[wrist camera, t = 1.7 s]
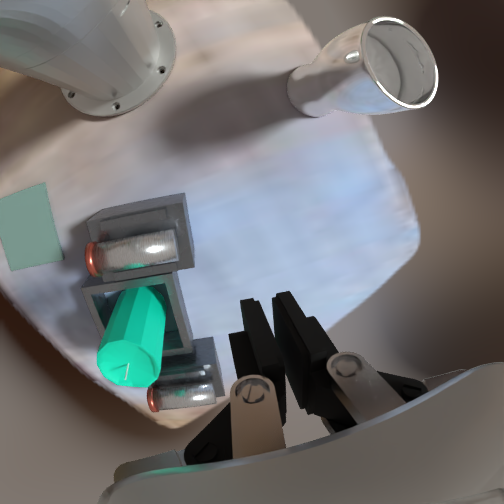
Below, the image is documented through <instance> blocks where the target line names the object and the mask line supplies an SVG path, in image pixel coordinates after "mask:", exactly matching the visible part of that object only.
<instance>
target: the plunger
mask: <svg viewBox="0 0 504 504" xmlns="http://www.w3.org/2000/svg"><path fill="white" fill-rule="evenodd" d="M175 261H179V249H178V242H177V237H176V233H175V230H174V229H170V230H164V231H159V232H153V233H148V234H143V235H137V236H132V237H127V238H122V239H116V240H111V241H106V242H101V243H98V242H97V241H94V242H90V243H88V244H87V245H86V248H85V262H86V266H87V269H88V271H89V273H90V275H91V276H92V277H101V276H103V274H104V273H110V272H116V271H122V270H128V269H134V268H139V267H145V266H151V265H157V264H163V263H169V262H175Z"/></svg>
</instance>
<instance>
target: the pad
mask: <svg viewBox="0 0 504 504" xmlns="http://www.w3.org/2000/svg"><path fill="white" fill-rule="evenodd" d="M0 237H1V241H2V244H3V247H4V250H5V254H6V257H7V260H8V263H9V266H10V268H11V271H14V270H18V269H23V268H28V267H32V266H37V265H42V264H46V263H51V262H56V261H61V260H64V256H63V253H62V250H61V246H60V243H59V239H58V236H57V232H56V228H55V225H54V221H53V217H52V212H51V208H50V204H49V199H48V194H47V189H46V184H45V183H42V184H39V185H36V186H33V187H30V188H28V189H25V190H22V191H20V192H17V193H14V194H12V195H9V196H7V197H4V198H2V199H0Z"/></svg>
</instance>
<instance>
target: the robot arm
mask: <svg viewBox="0 0 504 504" xmlns="http://www.w3.org/2000/svg"><path fill="white" fill-rule="evenodd" d="M158 26H161V27H158ZM175 58H176V42H175V37H174V34H173V31H172V28H171V27H170V25H169V24H168V22H167V21H166V20H165V19H164V18H163V17H162V16H161V15H159V14H157V13H155V12H154V11H152V10H149V8H148V5H147V2H146V0H0V67H2V68H4V69H7V70H11V71H14V72H17V73H20V74H23V75H27V76H30V77H33V78H36V79H38V80H41V81H44V82H47V83H50V84H53V85H55V86H58V87H60V88H61V91H62V94H63V95H64V97H65V99H66V100H67V102H68V103H69V104H70V105H71V106H73V107H74V108H75V109H77V110H79V111H80V112H82V113H85V114H88V115H92V116H98V117H108V116H115V115H120V114H123V113H126V112H128V111H131V110H133V109H135V108H137V107H139V106H140V105H142V104H144V103H145V102H146V101H148V100H149V99H150V98H151V97H153V96H154V95H155V94H156V93H157V91H158V90H159V89H160V88H161V87H162V86H163V84H164V83H165V81H166V80H167V78H168V77H169V75H170V73H171V70H172V68H173V66H174V61H175ZM161 70H165V72H164V73H163V74H161V73H160V71H161ZM74 94H75V96H74V97H73V95H74ZM118 105H120V108H119V109H118V110H117V109H116V107H117V106H118ZM240 305H241V312H242V318H243V325H244V331H241V332H236V333H231V334H228V335H229V340H230V345H231V350H232V355H233V360H234V365H235V369H236V374H237V378H238V380H237V381H236V382H235V383H234V384H233V385H232V387H231V391H230V403H229V404H228V405H227V406H226V407H225V408H224V409H223V410H222V411H221V412H220V413H219V414H218V415H217V416H216V417H215V418H214V419H213V420H212V421H211V422H210V424H208V425H207V426H206V427H205V428H204V429H203V430H202V431H201V432H200V433H199V434H198V435H197V436H196V437H195V438H194V439H193V440H192V441H191V442H190V443H189V444H188V445H187V447H186V448H185V449H184V450H181V451H177V452H176V451H175V450H172V451H168V452H165V453H162V454H158V455H155V456H151V457H147V458H143V459H139V460H135V461H131V462H126V463H124V464H121V465H120V466H119V467H118V468H117V469H116V470H115V473H114V484H112V485H110V486H109V487H107V488H106V489H105V490H104V491H103V493H102V494H101V496H100V498H99V500H98V503H97V504H504V363H501V362H498V363H490V364H485V365H481V366H478V367H475V368H473V369H470V370H457V371H454V372H450V373H447V374H443V375H439V376H435V377H431V378H426V379H424V380H423V382H420V381H418V380H415V379H411V378H406V377H401V376H397V375H392V374H388V373H383V372H379V371H376V370H375V369H374V368H373V367H372V366H371V365H370V364H369V363H368V362H367V361H366V360H365V359H364V358H363V357H362V356H361V355H359V354H357V353H354V352H340V353H339V352H338V351H337V349H336V347H335V346H334V344H333V343H332V342H331V340H330V338H329V337H328V335H327V334H326V332H325V331H324V329H323V328H322V326H321V325H320V324H319V322H318V321H317V319H316V318H315V317H314V316H311V317H307V318H306V316H305V314H304V313H303V311H302V310H301V308H300V307H299V305H298V303H297V302H296V300H295V299H294V297H293V296H292V294H291V292H290V291H286V292H281V293H277V294H276V297H273V298H272V307H273V320H274V333H275V338H274V335H273V333H272V330H271V328H270V326H269V323H268V321H267V319H266V316H265V314H264V312H263V309H262V307H261V304H260V302H259V300H258V301H254V299H253V298H250V299H245V300H240ZM285 373H286V376H287V378H288V381H289V383H290V385H291V388H292V390H293V393H294V395H295V397H296V400H297V402H298V405H299V407H300V409H304V408H305V409H306V412H307V414H308V415H309V414H313V413H314V414H315V415H317V416H320V417H321V420H322V422H323V424H324V426H325V427H326V429H327V430H328V432H329V433H330V435H329V436H326V437H323V438H320V439H316V440H313V441H310V442H307V443H303V444H300V445H296V446H292V447H289V448H286V444H285V439H284V433H283V429H282V427H283V426H284V424H285V423H286V382H285Z"/></svg>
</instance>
